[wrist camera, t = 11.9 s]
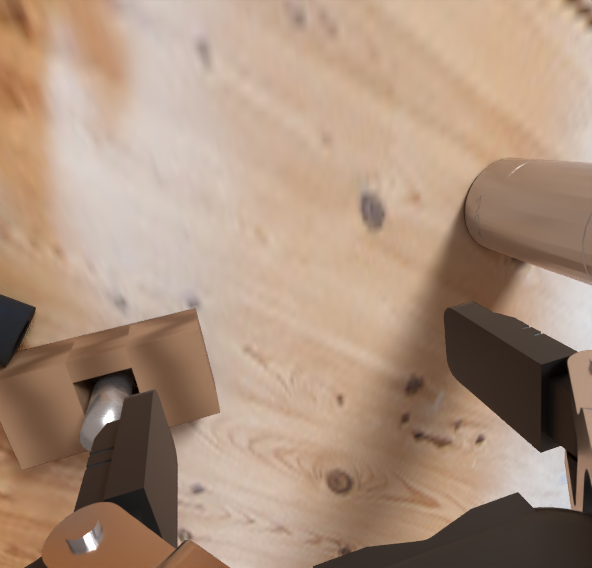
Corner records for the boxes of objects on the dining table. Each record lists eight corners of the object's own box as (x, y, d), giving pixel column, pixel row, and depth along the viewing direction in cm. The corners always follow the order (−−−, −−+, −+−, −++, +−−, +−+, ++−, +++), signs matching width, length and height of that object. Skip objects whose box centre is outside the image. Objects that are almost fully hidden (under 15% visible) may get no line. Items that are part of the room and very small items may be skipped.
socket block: (195, 308, 42) (198, 329, 37) (214, 383, 44) (220, 412, 40) (5, 354, 39) (-17, 384, 34) (38, 432, 41) (22, 469, 37)
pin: (130, 350, 41) (118, 412, 32) (139, 379, 42) (130, 447, 33) (95, 359, 41) (73, 424, 31) (105, 388, 42) (87, 459, 32)
